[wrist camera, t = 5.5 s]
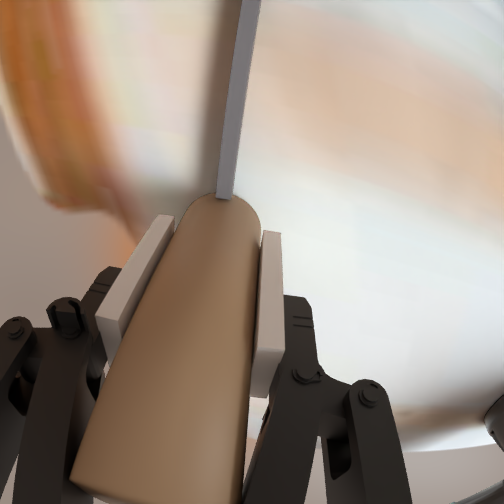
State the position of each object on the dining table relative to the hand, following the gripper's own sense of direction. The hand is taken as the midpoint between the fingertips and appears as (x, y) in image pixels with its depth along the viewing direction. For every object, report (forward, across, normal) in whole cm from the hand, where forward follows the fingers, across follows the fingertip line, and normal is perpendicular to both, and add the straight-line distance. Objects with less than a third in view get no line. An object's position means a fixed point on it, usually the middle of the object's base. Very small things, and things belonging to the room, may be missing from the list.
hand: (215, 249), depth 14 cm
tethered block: (+2, 0, -9) cm, 10 cm away
